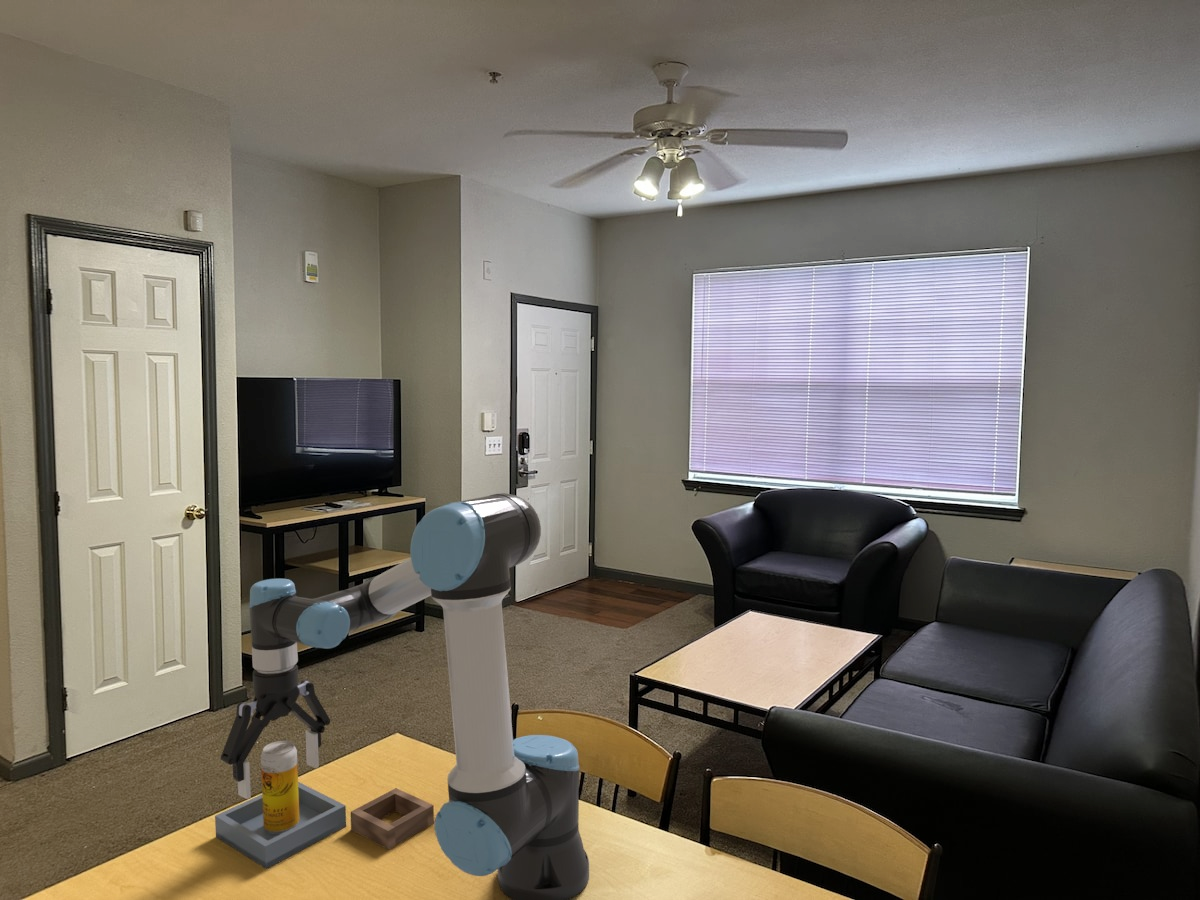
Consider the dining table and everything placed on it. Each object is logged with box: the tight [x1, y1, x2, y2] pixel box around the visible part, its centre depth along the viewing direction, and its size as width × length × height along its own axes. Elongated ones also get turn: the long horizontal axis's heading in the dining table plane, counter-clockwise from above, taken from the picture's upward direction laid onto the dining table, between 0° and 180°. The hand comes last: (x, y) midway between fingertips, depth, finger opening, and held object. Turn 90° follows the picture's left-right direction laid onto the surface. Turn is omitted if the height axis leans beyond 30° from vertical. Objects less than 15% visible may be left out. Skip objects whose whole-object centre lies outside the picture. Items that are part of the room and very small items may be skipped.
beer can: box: [260, 740, 299, 834], centre depth 147 cm, size 6×6×15 cm
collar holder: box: [350, 787, 435, 851], centre depth 150 cm, size 10×10×4 cm
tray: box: [214, 781, 347, 870], centre depth 148 cm, size 16×16×4 cm
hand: (279, 780), depth 147 cm, fingers open, 13 cm apart
